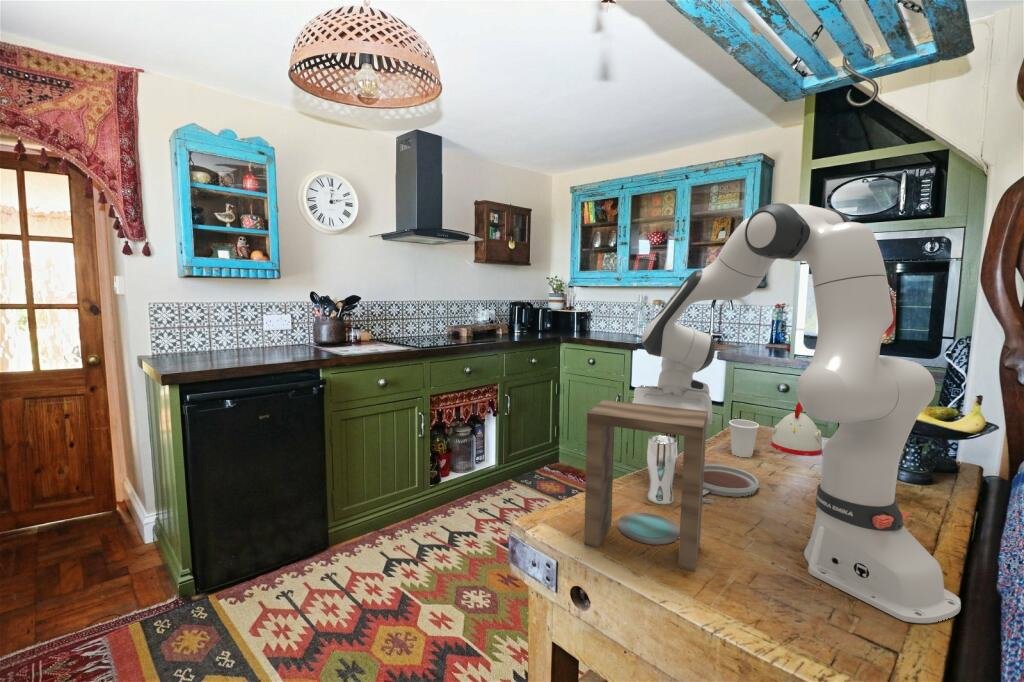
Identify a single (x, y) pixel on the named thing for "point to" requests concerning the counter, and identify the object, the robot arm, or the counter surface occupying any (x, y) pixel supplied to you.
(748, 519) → the counter surface
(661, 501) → the beer glass
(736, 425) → the dixie cup
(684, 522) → the shelf bridge
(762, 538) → the counter surface
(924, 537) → the counter surface
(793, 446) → the kitchen timer
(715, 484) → the frying pan
